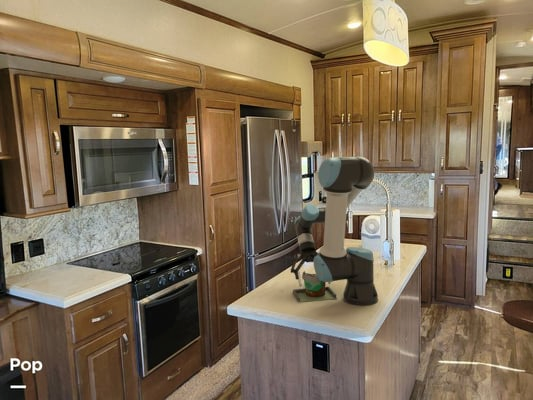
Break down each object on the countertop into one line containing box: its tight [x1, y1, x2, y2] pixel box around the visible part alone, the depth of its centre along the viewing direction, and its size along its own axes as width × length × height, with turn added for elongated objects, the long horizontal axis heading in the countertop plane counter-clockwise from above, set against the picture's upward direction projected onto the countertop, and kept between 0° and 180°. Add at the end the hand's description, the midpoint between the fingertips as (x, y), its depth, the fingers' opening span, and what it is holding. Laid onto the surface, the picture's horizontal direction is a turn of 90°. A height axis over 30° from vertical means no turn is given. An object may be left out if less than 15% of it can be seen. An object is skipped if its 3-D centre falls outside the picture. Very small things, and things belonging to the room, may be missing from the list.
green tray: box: [292, 286, 338, 303], centre depth 190 cm, size 12×18×2 cm, turn 98°
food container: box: [301, 270, 327, 297], centre depth 189 cm, size 12×6×10 cm, turn 53°
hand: (315, 284), depth 187 cm, fingers open, 13 cm apart
